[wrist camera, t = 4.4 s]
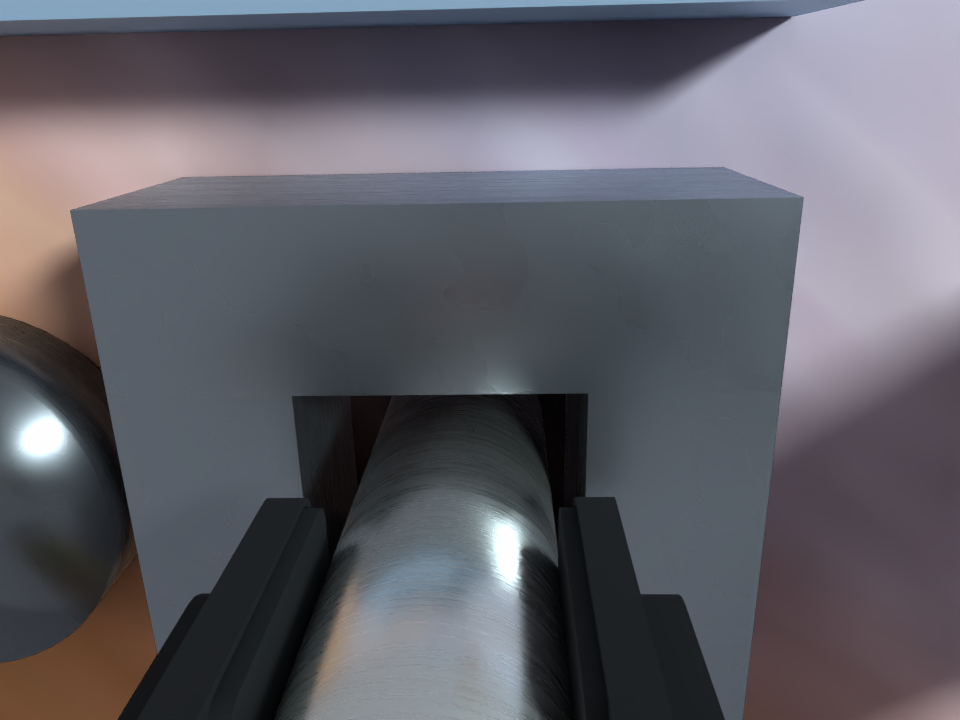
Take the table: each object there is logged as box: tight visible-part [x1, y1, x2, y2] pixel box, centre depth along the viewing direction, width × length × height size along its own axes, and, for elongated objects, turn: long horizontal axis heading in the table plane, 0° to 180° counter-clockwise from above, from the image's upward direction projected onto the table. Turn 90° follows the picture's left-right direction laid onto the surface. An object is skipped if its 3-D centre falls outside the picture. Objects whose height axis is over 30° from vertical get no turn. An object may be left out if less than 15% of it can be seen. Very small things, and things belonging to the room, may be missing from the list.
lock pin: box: [273, 394, 574, 720], centre depth 10 cm, size 4×4×13 cm
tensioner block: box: [70, 167, 804, 720], centre depth 14 cm, size 10×10×4 cm
